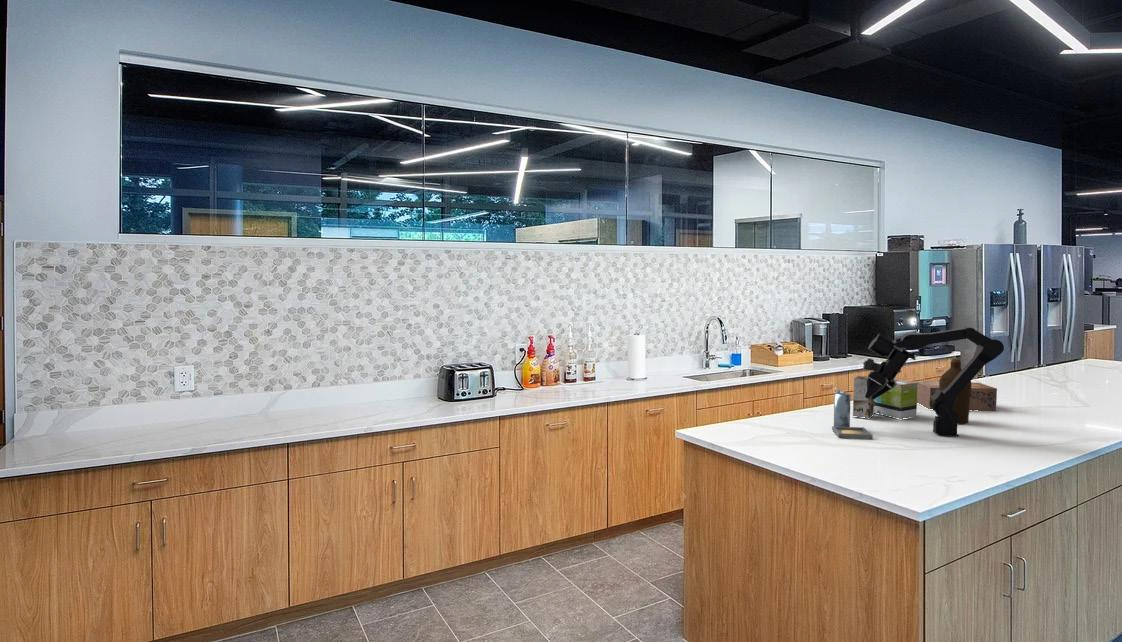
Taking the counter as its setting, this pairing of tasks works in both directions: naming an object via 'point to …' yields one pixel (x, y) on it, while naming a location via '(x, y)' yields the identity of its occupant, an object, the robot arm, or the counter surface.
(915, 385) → the tea box
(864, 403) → the coffee box
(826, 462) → the counter surface
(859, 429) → the tray
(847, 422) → the spout can
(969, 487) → the counter surface
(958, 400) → the olive oil
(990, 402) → the tissue box cover
